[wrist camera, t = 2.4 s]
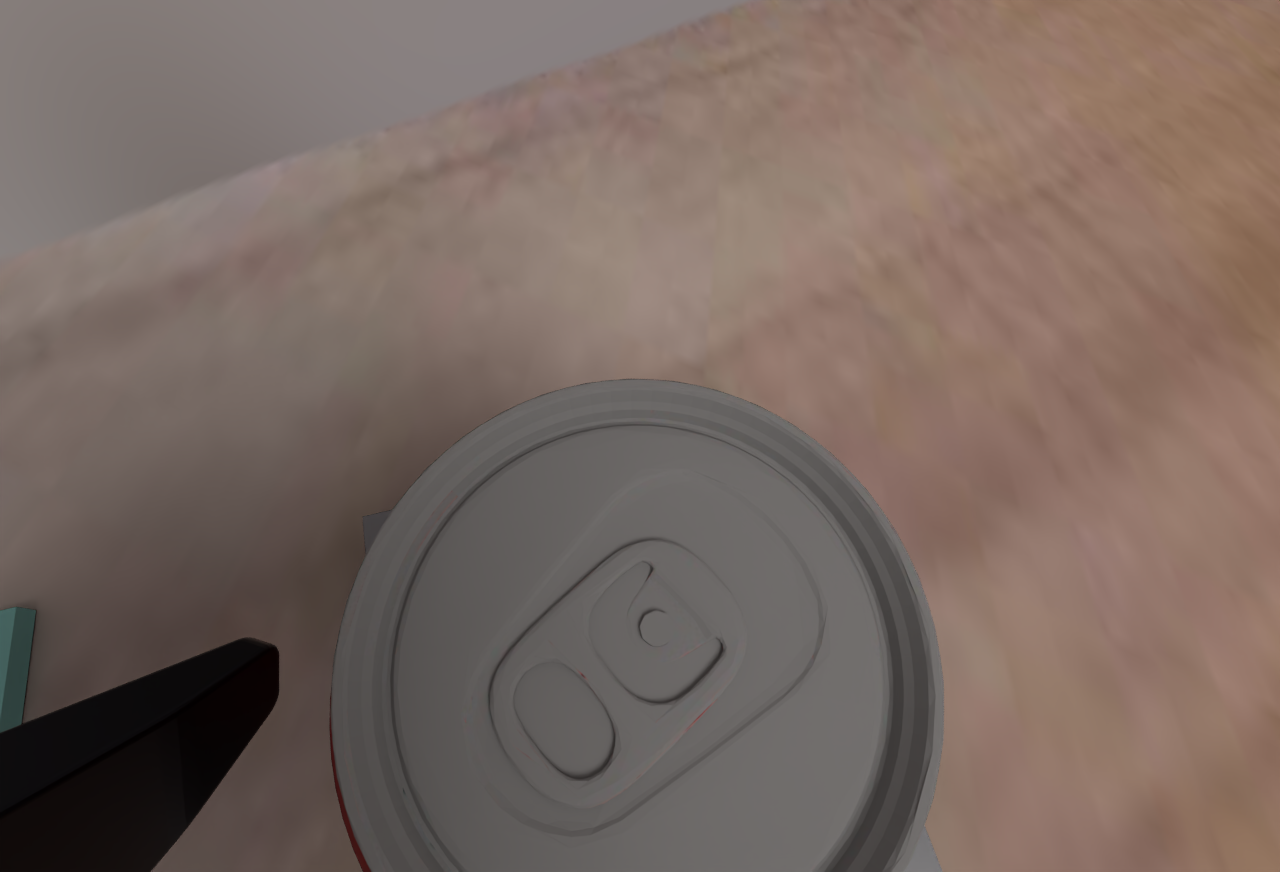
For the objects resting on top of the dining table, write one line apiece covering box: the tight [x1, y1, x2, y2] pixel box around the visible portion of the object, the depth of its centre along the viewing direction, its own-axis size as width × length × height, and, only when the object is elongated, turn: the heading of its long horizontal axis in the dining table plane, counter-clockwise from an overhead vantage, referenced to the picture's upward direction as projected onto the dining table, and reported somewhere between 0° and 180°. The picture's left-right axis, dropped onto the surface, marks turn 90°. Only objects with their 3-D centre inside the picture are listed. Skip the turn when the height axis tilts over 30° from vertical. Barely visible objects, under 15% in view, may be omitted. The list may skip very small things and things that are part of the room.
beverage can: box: [330, 379, 944, 872], centre depth 11 cm, size 7×7×12 cm
